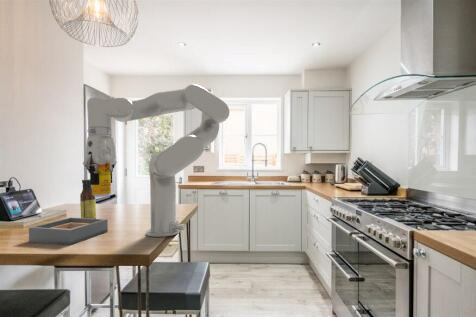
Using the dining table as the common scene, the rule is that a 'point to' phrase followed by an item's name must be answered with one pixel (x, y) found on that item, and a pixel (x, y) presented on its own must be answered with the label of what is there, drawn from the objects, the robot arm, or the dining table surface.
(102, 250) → the dining table surface
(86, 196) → the sauce bottle
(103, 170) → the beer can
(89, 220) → the walled box
